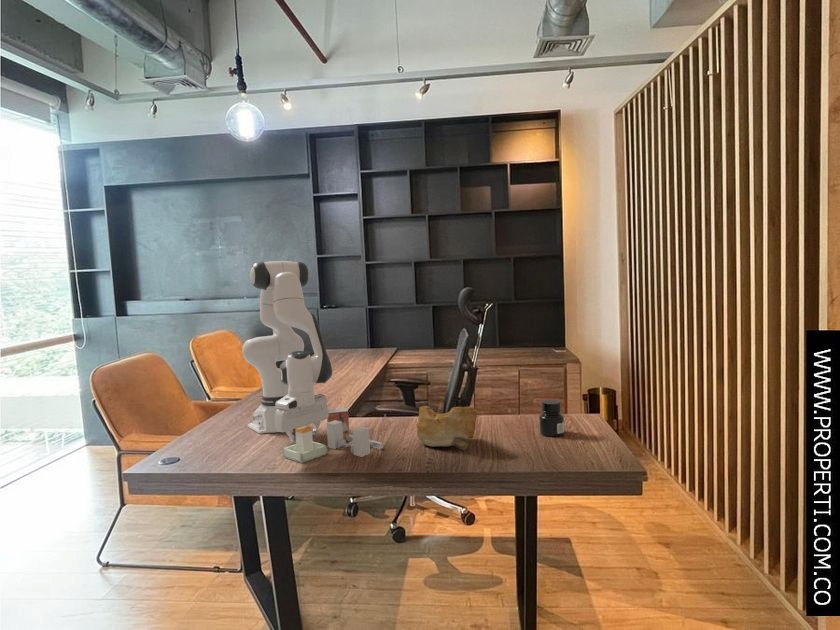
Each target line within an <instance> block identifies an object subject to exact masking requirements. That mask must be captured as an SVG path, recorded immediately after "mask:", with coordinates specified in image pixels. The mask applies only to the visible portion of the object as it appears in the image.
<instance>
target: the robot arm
mask: <svg viewBox="0 0 840 630" xmlns="http://www.w3.org/2000/svg"><path fill="white" fill-rule="evenodd" d="M249 271H250V272H249V278H250V282H251V284H252V286H253V287H254V288H256V289H258V290H260V294H259V295H260V298H259V319H260V322H261V324H263V325H264V326H265V327H267V328H269V329H272V333H273V334H272V335H266V336H265V335H264V336H263V335H262V336H256V337H254V338H250V339H247V340H245V342H244V343H243V344H242V348H241V355H242V357H243V359H244V360H245V362H247V363H248V364H249V365H251V366H252V367H254V369H255V370H256V371H257V372H258V374H259V377H260V380H261V385H262V387H261V388H262V395H260V400H261V401H260V405H259V406H258V407H257V408H256V410H254V411H253V413H252V422H250V423H248V424H247V427H248V428H249V429H250V430H252V431H254V432H256V433H257V434H270V433H286V435H287V436H288V437H289V442H290V443H294V442H295V443H296V435H293V433H294V430H295V429H297V428H300V427H303V426H308V425H312V424H313V427H312V436H315V435H318V434H319V428H320V425H321V422H322V421H324V420H327V418H328V416H329V413H328V410H329V407H328V403H327V396H326V395H325V394H323V393H319V394H315V387H314V384H326V383H327V382H328V381H329V380H330V379H331V377H332V376H333V365H332V362H331V360H330V358H329V355H328V353H327V350H326V346H325V342H324V340H323V335H322V333H321V330H320V326H319V323H318V320H317V318H316V317H315V314H314V313H312V312H310V311H309V309H307V306H306V305H305V299H304V293H303V288H304V287H305V286H306V285H307V284H308V282H309V277H310V274H309V269H308V266H307V265H306V263H304V262H301V261H298V260H297V261H290V260H276V261H275V260H271V261H263V260H262V261H258V262H254V263H253V264H252V266H251V269H250V270H249ZM293 328H295V329H299V330H302V331H303V332H304V333H306V334H307V336H308V337H309V339H310V343H311V346H312V350H313V353H314V355H313V356H311V355H310V353H309V352H308V351H306V350H305V351H304V349H305V343H304V340H303V338H302V337H301V335H299V334H298V333H296V332H295V330H293ZM280 361H282V363H280V365H279V368H278V366H277V362H280Z"/></svg>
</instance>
